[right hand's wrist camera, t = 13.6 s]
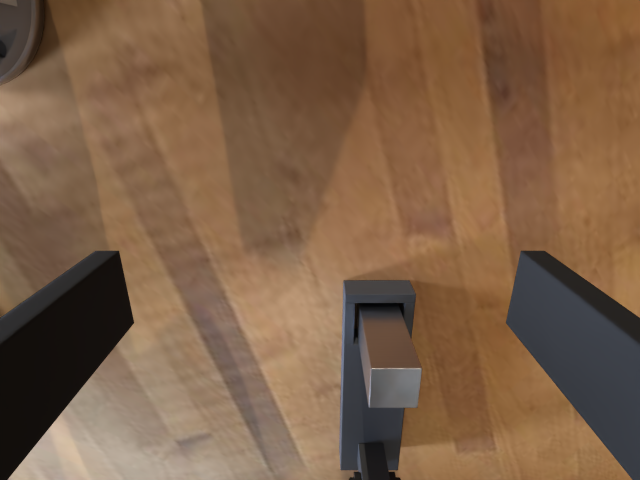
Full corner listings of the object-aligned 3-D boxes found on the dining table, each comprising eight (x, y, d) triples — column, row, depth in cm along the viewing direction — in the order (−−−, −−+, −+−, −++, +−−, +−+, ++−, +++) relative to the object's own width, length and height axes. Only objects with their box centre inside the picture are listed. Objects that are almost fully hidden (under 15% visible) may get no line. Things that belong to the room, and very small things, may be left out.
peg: (355, 324, 42) (368, 408, 31) (356, 292, 41) (371, 368, 30) (391, 324, 42) (417, 407, 31) (394, 292, 41) (422, 368, 30)
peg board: (393, 448, 49) (412, 542, 39) (339, 448, 49) (344, 542, 39) (409, 280, 40) (439, 344, 30) (343, 280, 40) (351, 344, 30)
